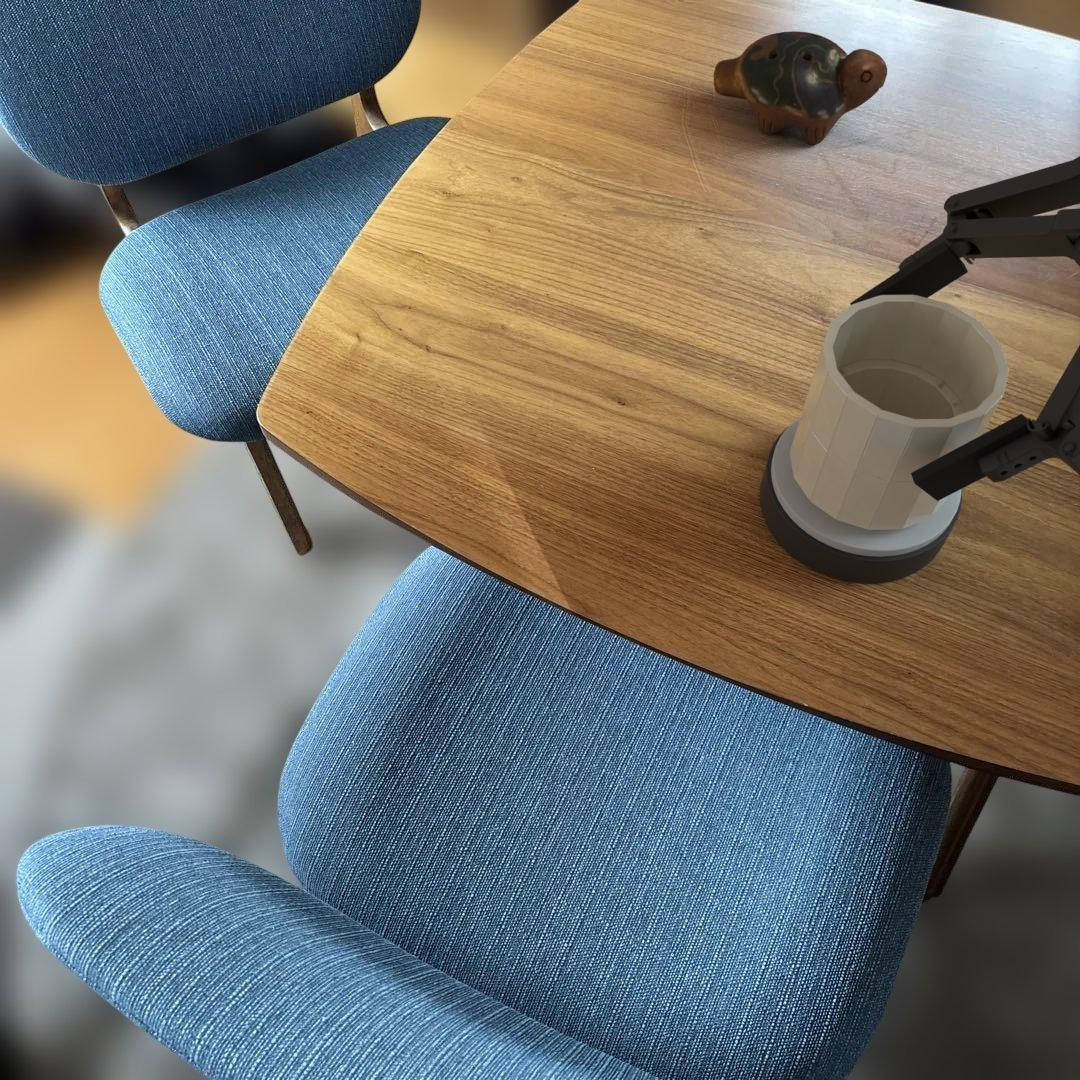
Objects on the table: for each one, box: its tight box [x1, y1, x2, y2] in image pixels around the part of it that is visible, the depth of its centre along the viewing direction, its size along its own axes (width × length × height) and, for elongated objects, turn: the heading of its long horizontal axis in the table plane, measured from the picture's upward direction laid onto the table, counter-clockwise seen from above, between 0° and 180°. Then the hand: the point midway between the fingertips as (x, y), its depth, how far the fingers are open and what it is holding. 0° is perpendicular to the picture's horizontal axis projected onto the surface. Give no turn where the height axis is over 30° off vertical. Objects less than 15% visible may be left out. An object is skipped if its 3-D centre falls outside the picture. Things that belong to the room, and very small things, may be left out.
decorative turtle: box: [713, 30, 888, 146], centre depth 93 cm, size 10×15×8 cm, turn 74°
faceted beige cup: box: [790, 295, 1010, 530], centre depth 64 cm, size 10×10×11 cm
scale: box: [759, 416, 963, 584], centre depth 70 cm, size 13×13×4 cm
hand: (890, 397), depth 62 cm, fingers open, 13 cm apart
